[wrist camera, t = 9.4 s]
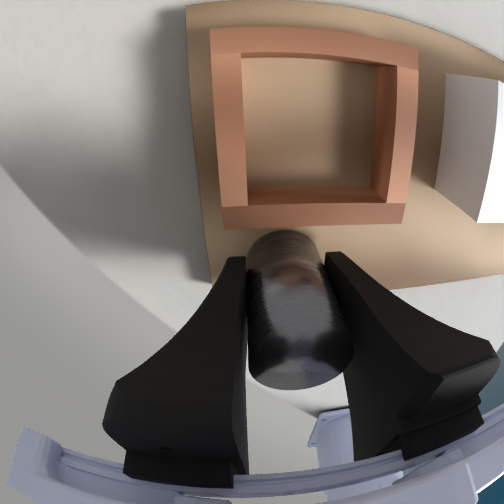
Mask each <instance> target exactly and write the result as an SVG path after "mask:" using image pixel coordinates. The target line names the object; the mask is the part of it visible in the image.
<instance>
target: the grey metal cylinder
mask: <svg viewBox="0 0 504 504" xmlns="http://www.w3.org/2000/svg"><path fill="white" fill-rule="evenodd" d="M246 271H247V328H248V365H249V372H250V374H251V375H252V377H253V378H254V379H255V380H256V381H258V382H259V383H261V384H263V385H265V386H267V387H270V388H274V389H280V390H300V389H306V388H311V387H314V386H318V385H321V384H323V383H325V382H328V381H330V380H332V379H333V378H335V377H336V376H338V375H339V374H341V373H342V372H343V371H344V370H345V369H346V368H347V367H348V366H349V364H350V363H351V361H352V359H353V356H354V346H353V343H352V340H351V337H350V334H349V331H348V328H347V325H346V323H345V320H344V317H343V314H342V312H341V309H340V306H339V303H338V301H337V298H336V295H335V293H334V290H333V287H332V285H331V282H330V280H329V277H328V275H327V272H326V269H325V267H324V264H323V262H322V259H321V257H320V254H319V252H318V249H317V247H316V245H315V244H314V242H313V241H312V240H311V239H310V238H309V237H308V236H306V235H304V234H303V233H300V232H298V231H294V230H277V231H273V232H270V233H268V234H265V235H263V236H262V237H260V238H259V239H258V240H257V241H256V242H255V243H254V244H253V245H252V246H251V248H250V249H249V251H248V254H247V257H246Z"/></svg>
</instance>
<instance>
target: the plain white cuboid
mask: <svg viewBox="0 0 504 504" xmlns="http://www.w3.org/2000/svg"><path fill="white" fill-rule="evenodd" d="M434 190H436V191H437V192H439V193H440V194H441V195H443V196H444V197H445V198H447V199H448V200H449V201H451V202H452V203H453V204H455V205H456V206H457V207H458V208H460V209H461V210H462V211H464V212H465V213H466V214H467V215H468V216H470V217H471V218H472V219H473V220H475V221H476V222H477V223H504V83H502V82H501V81H499V80H493V79H487V78H481V77H474V76H467V75H458V74H448V73H446V87H445V109H444V122H443V133H442V142H441V150H440V157H439V164H438V170H437V176H436V182H435V188H434Z"/></svg>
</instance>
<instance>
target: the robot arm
mask: <svg viewBox="0 0 504 504" xmlns="http://www.w3.org/2000/svg"><path fill="white" fill-rule="evenodd" d="M324 267H325V269H326V272H327V275H328V277H329V280H330V282H331V285H332V287H333V290H334V293H335V295H336V298H337V301H338V303H339V306H340V309H341V312H342V314H343V317H344V320H345V323H346V325H347V328H348V331H349V334H350V337H351V340H352V343H353V346H354V356H353V359H352V361H351V363H350V364H349V366H348V367H347V368H346V369H345V370H344V371H343V375H344V380H345V385H346V391H347V397H348V404H349V408H348V409H342V410H336V411H330V412H324V413H321V414H320V415H319V416H318V419H317V421H316V424H315V426H314V429H313V432H312V434H311V436H310V439H309V441H308V444H307V445H308V447H317V454H318V461H319V469H312V470H304V471H296V472H286V473H274V474H256V475H249V461H248V442H247V417H246V388H245V370H246V356H247V342H248V328H247V271H246V256H235V257H229V258H227V259H226V262H225V265H224V267H223V269H222V271H221V273H220V275H219V277H218V279H217V280H216V282H215V284H214V285H213V287H212V289H211V290H210V292H209V294H208V295H207V297H206V298H205V299H204V301H203V302H202V304H201V305H200V307H199V308H198V309H197V311H196V312H195V313H194V315H193V316H192V317H191V318H190V319H189V321H188V322H187V323H186V324H185V325H184V326H183V327H182V328H181V330H180V331H179V332H178V333H177V334H176V335H175V336H174V337H173V338H172V339H171V340H170V341H169V342H168V343H167V344H166V345H165V346H163V347H162V348H161V349H160V350H159V351H157V353H155V354H154V355H153V356H152V357H150V358H149V359H148V360H147V361H145V362H144V363H143V364H141V365H140V366H139V367H137V368H136V369H134V370H133V371H131V372H130V373H128V374H127V375H125V376H124V377H122V378H120V379H119V380H117V381H116V383H115V386H114V388H113V390H112V392H111V394H110V397H109V400H108V404H107V407H106V411H105V415H104V419H103V423H102V425H103V429H104V430H105V432H106V433H107V434H108V435H109V436H110V437H111V438H112V439H113V440H114V441H116V442H117V443H118V444H119V445H120V446H122V447H123V448H124V449H125V450H126V456H125V462H124V464H122V463H118V462H113V461H109V460H104V459H101V458H97V457H93V456H89V455H86V454H82V453H79V452H76V451H73V450H69V449H66V448H63V447H62V446H61V445H60V444H59V443H57V442H56V441H54V440H53V439H51V438H49V437H48V436H45V435H43V434H40V433H38V432H36V431H33V430H31V429H28V428H26V427H23V428H22V430H21V433H20V436H19V439H18V442H17V446H16V449H15V452H14V456H13V459H12V463H11V467H10V471H9V475H8V480H7V485H8V486H10V487H11V488H13V489H15V490H16V491H18V492H19V493H21V494H23V495H25V496H26V497H28V498H30V499H32V500H33V501H35V502H37V503H39V504H231V502H230V501H229V500H219V499H209V498H202V497H223V498H251V497H273V496H285V495H295V494H303V493H311V492H317V491H324V493H325V494H326V495H327V500H328V502H324V503H318V504H476V503H477V501H478V496H477V493H479V492H480V491H481V490H483V489H484V488H486V487H487V486H488V485H490V484H491V483H492V482H494V481H495V480H496V479H498V478H499V477H500V476H501V475H503V474H504V404H502V405H500V406H499V407H497V408H495V409H493V410H492V411H490V412H488V413H486V414H484V415H481V413H480V411H479V409H478V405H479V404H480V403H481V399H480V397H479V395H478V393H479V392H480V391H481V390H482V389H483V388H484V387H485V386H486V385H487V383H488V382H489V381H490V380H491V379H492V377H493V376H494V375H495V373H496V372H497V370H498V368H499V365H500V359H499V357H498V355H497V354H496V352H495V350H494V349H493V347H492V345H491V344H490V342H489V341H488V340H485V339H482V338H479V337H476V336H473V335H470V334H467V333H465V332H462V331H460V330H457V329H455V328H452V327H450V326H448V325H446V324H444V323H441V322H439V321H437V320H435V319H434V318H432V317H430V316H428V315H426V314H424V313H422V312H421V311H419V310H417V309H416V308H414V307H412V306H411V305H409V304H408V303H406V302H405V301H403V300H401V299H400V298H399V297H397V296H396V295H394V294H393V293H392V292H390V291H389V290H388V289H386V288H385V287H384V286H382V285H381V284H380V283H378V282H377V281H376V280H375V279H374V278H372V277H371V276H370V275H369V274H367V273H366V272H365V271H364V270H363V269H362V268H360V267H359V266H358V265H357V264H356V263H355V262H353V261H352V260H351V259H350V258H349V257H347V256H346V255H345V254H344V253H342V252H341V251H335V252H326V253H325V261H324ZM434 458H435V459H434ZM432 459H434V460H432ZM429 460H432V461H430V462H428V463H426V464H424V465H421V466H419V467H417V468H416V469H415V470H414V471H412V472H411V473H409V474H408V475H406V476H404V477H403V473H402V471H403V470H406V469H408V468H411V467H414V466H417V465H419V464H422V463H424V462H427V461H429ZM186 495H189V496H186ZM195 496H202V497H195Z"/></svg>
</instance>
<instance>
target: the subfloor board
mask: <svg viewBox="0 0 504 504" xmlns="http://www.w3.org/2000/svg"><path fill="white" fill-rule="evenodd" d="M185 13H186V39H187V59H188V75H189V89H190V103H191V115H192V126H193V137H194V148H195V157H196V167H197V176H198V185H199V193H200V202H201V210H202V218H203V225H204V233H205V240H206V247H207V254H208V261H209V268H210V275H211V281H212V287H213V285H214V284H215V282H216V280H217V279H218V277H219V275H220V273H221V271H222V269H223V267H224V265H225V262H226V259H227V258H229V257H235V256H246V257H247V254H248V251H249V249H250V248H251V246H252V245H253V244H254V243H255V242H256V241H257V240H258V239H259V238H260V237H262V236H263V235H265V234H268V233H270V232H273V231H277V230H294V231H298V232H300V233H303V234H304V235H306V236H308V237H309V238H310V239H311V240H312V241H313V242H314V244H315V245H316V247H317V249H318V252H319V254H320V257H321V259H322V262H323V264H324V261H325V253H326V252H335V251H341V252H342V253H344V254H345V255H346V256H347V257H349V258H350V259H351V260H352V261H353V262H355V263H356V264H357V265H358V266H359V267H360V268H362V269H363V270H364V271H365V272H366V273H367V274H369V275H370V276H371V277H372V278H374V279H375V280H376V281H377V282H378V283H380V284H381V285H382V286H384V287H385V288H386V289H388V290H392V289H401V288H409V287H418V286H425V285H433V284H440V283H447V282H454V281H461V280H468V279H474V278H480V277H486V276H492V275H498V274H504V223H477V222H476V221H475V220H473V219H472V218H471V217H470V216H468V215H467V214H466V213H465V212H464V211H462V210H461V209H460V208H458V207H457V206H456V205H455V204H453V203H452V202H451V201H449V200H448V199H447V198H445V197H444V196H443V195H441V194H440V193H439V192H437V191H436V190H434V188H435V182H436V176H437V170H438V164H439V157H440V150H441V142H442V133H443V122H444V109H445V87H446V73H448V74H458V75H467V76H474V77H481V78H487V79H493V80H499V81H501V82H502V83H504V62H502V61H500V60H498V59H497V58H495V57H493V56H491V55H489V54H487V53H485V52H483V51H482V50H480V49H477V48H475V47H473V46H471V45H469V44H467V43H465V42H463V41H460V40H458V39H456V38H453V37H451V36H449V35H446V34H444V33H441V32H438V31H436V30H433V29H430V28H427V27H425V26H422V25H419V24H416V23H412V22H409V21H406V20H403V19H399V18H396V17H392V16H388V15H384V14H380V13H376V12H371V11H367V10H362V9H357V8H351V7H345V6H339V5H332V4H324V3H316V2H305V1H290V0H236V1H221V2H210V3H202V4H194V5H187V6H185Z"/></svg>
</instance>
